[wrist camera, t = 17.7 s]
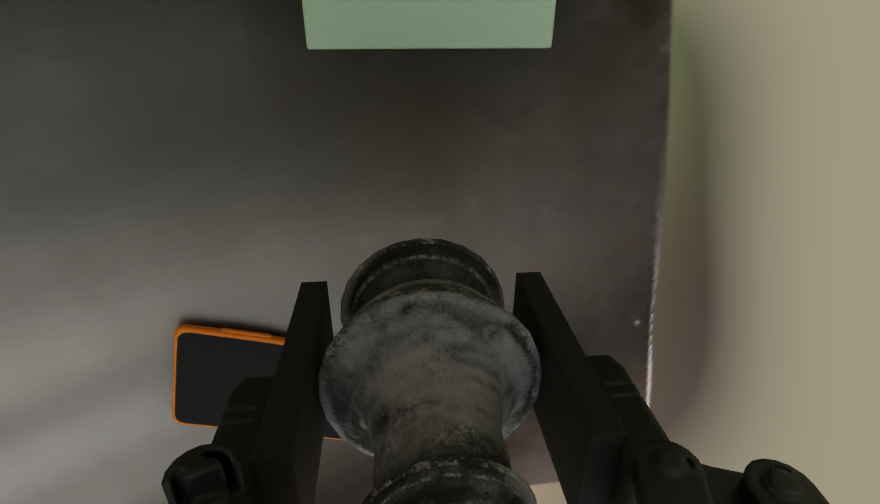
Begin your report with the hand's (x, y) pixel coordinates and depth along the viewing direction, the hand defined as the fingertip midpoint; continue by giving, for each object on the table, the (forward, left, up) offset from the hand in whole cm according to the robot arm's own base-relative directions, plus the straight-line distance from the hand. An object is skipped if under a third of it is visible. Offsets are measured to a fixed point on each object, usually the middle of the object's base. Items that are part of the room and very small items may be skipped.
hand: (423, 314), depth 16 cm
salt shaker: (0, 0, 0) cm, 0 cm away
